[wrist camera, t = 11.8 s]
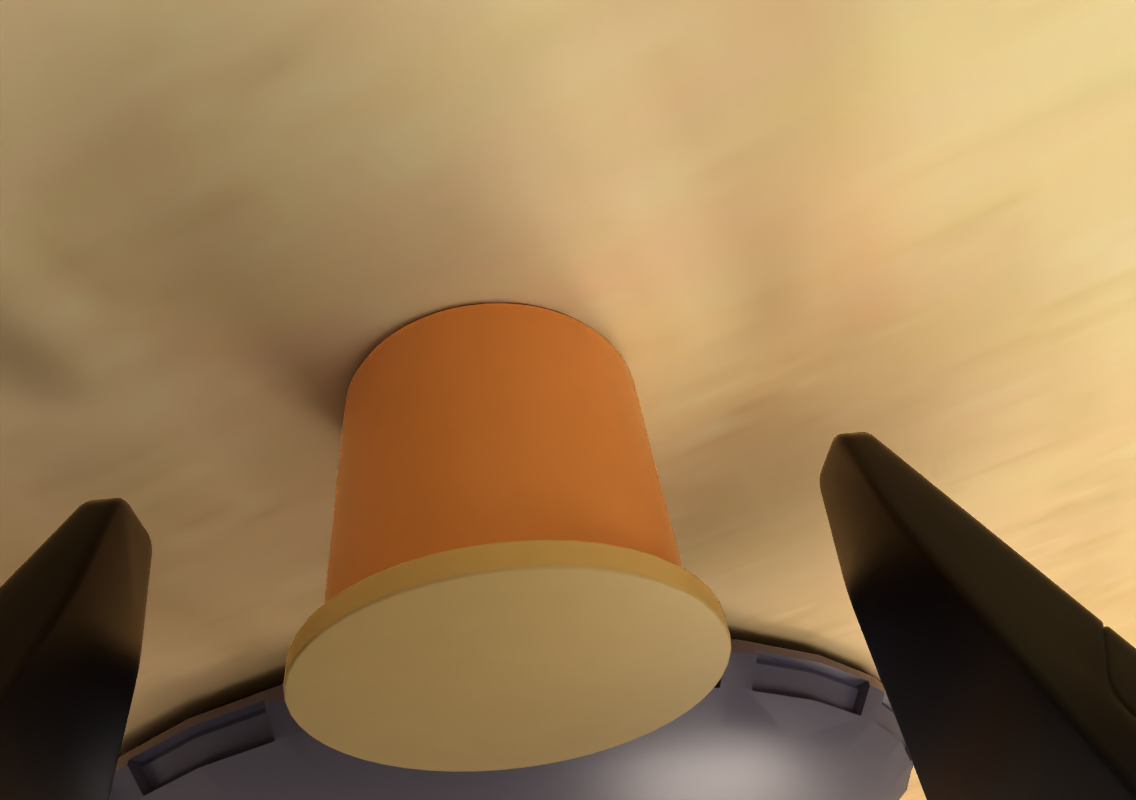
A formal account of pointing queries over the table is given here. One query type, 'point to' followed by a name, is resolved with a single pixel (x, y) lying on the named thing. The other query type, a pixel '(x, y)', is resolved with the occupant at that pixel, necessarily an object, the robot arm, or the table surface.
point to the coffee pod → (499, 556)
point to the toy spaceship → (580, 785)
